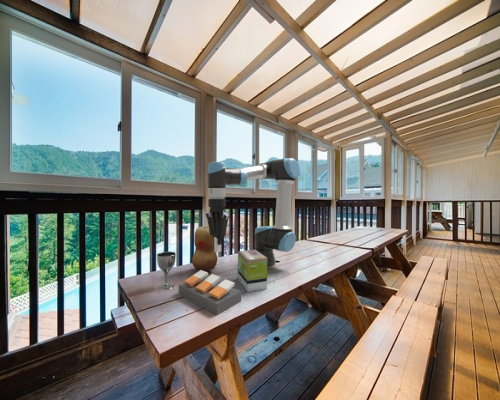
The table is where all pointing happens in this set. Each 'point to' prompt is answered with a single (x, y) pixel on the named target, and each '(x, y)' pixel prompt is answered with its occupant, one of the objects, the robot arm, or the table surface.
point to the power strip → (210, 297)
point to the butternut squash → (204, 250)
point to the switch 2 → (221, 289)
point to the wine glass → (166, 267)
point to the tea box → (252, 270)
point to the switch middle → (208, 283)
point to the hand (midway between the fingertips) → (217, 251)
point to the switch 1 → (196, 278)
